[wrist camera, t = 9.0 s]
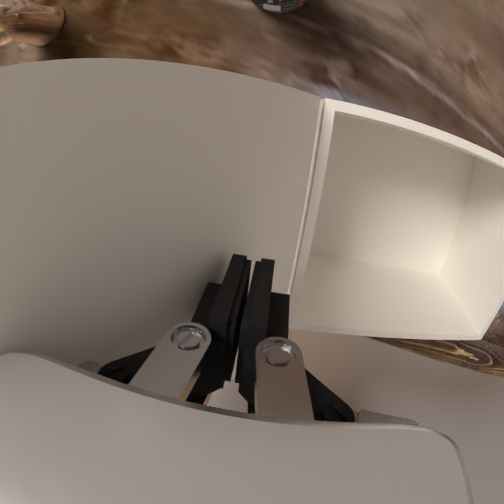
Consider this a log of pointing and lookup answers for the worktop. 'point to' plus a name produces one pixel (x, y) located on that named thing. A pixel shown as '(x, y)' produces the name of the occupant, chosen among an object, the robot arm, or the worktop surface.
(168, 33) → the worktop surface
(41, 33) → the beer glass
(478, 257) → the carton
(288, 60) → the worktop surface
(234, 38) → the worktop surface
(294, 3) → the supplement bottle
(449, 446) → the robot arm
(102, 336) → the lid flap
